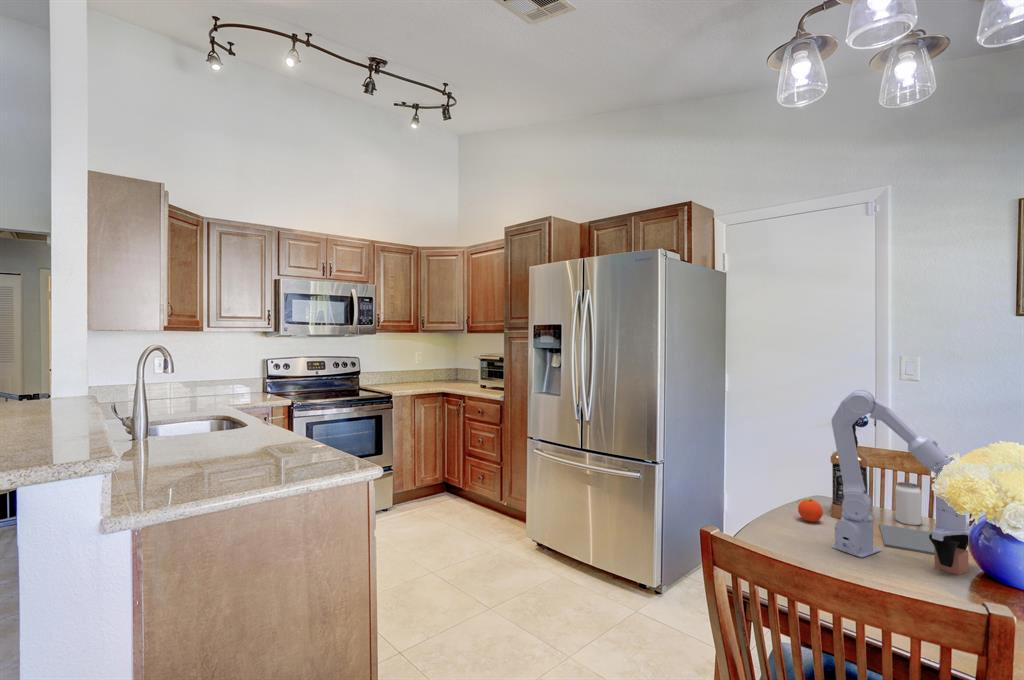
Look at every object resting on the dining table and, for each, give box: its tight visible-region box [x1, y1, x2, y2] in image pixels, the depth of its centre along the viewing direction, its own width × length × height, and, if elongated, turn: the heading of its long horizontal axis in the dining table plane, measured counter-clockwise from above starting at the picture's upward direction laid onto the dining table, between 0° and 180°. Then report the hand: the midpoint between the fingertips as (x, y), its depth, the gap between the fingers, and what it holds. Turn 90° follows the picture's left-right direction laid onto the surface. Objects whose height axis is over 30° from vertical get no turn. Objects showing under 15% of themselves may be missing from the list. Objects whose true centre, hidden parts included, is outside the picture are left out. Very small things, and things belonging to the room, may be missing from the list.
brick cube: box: [934, 548, 970, 576], centre depth 127 cm, size 5×5×5 cm
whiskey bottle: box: [830, 421, 871, 519], centre depth 166 cm, size 10×10×32 cm
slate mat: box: [879, 523, 935, 555], centre depth 145 cm, size 18×14×1 cm
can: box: [894, 481, 923, 527], centre depth 159 cm, size 6×6×12 cm
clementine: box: [797, 498, 824, 523], centre depth 162 cm, size 8×7×7 cm
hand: (951, 563), depth 127 cm, fingers closed on brick cube, 5 cm apart
